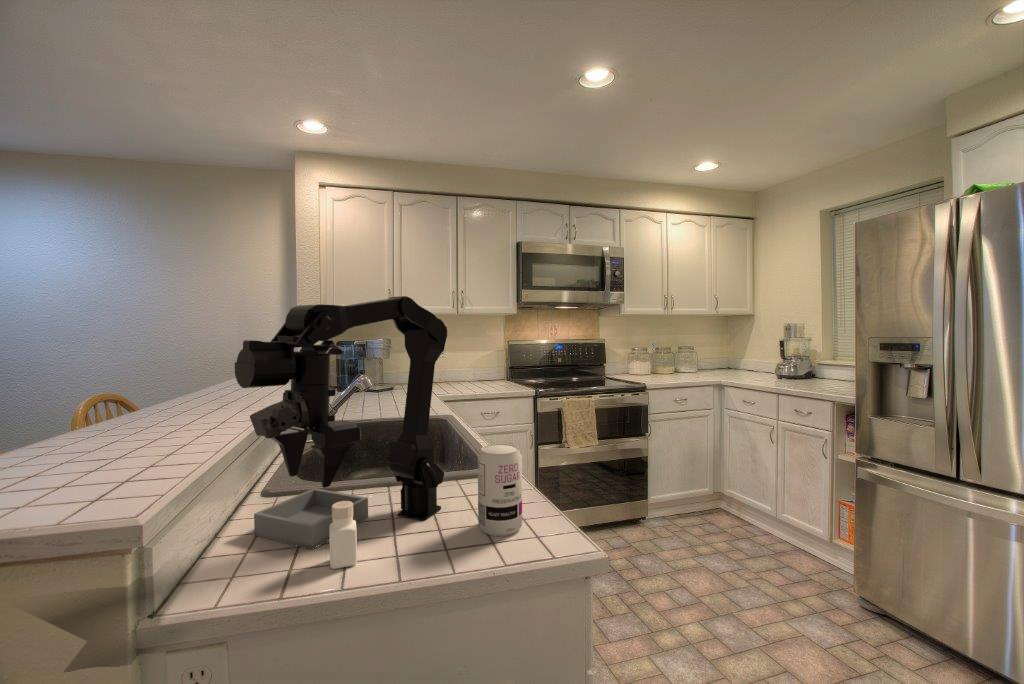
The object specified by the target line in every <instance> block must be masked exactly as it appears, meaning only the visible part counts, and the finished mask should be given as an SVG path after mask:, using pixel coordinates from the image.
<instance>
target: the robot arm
mask: <svg viewBox="0 0 1024 684" xmlns="http://www.w3.org/2000/svg"><path fill="white" fill-rule="evenodd" d="M390 320H392V321H393V324H394V325H395V328H396V329H397V330H398V331H399V332H400V333H401V334H402V335H403V336H404V349H405V350H406V353H407V355H408V358H409V371H408V379H407V380H408V381H407V388H406V398H405V404H404V405H405V406H404V413H403V414H404V415H403V424H402V432H401V433H400V435H399V436H398V438H397V439H396V440H393V439H392V440H391V441H390V442H389V452H388V453H389V454H388V457H387V460H386V461H387V462H389V470H391V472H392V474H394V477H395V480H396V482H397V483H399V482H400V483H401V489H400V509H401V510H400V511H398V512H397V516H399V517H405V518H410V519H414V520H419V521H425V520H427V519H429V518H430V517H432V516H433V515H434V514H435V513H437V512H439V511H440V510H441V509H442V506H441V505H438V502H437V501H438V500H437V499H438V498H437V497H438V496H437V495H438V494H437V491H438V490H437V489H438V487H439V486H440V484H443V480H444V476H445V471H444V470H443V469H441V467H439V465H437V464H436V463H435V462H434V447H433V445H432V442H431V439H430V437H429V434H428V432H429V424H430V415H431V405H432V404H431V403H432V394H433V387H434V385H433V384H434V375H435V367H436V362H437V361H438V359H439V358H440V356H441V355H442V354H443V352H444V349H445V346H446V342H447V337H448V326H446V325H445V323H444V321H443V320H442V319H440V318H439V317H437V316H436V315H435V314H434V313H432V312H431V311H429V310H427V309H426V308H424V307H423V306H421V305H419V304H418V303H417V302H415V300H414V299H413V298H411V297H410V296H406V295H402V296H401V295H400V296H391V297H389V298H385V299H380V300H379V299H378V300H372V301H366V302H360V303H354V304H353V303H351V304H347V305H339V304H304V305H302V304H301V305H300V304H299V305H296V306H293V307H292V308H290V309H289V311H288V313H287V314H286V316H285V322H284V324H282V326H281V328H280V329H279V330H278V331H277V332H276V334H275V335H274V336H273V338H272V339H271V340H270V341H261V340H249V339H248V340H243V342H242V349H241V350H240V351H239V352H238V354H237V358H236V362H234V375H235V379H236V382H237V384H238V385H239V386H240V388H243V389H252V388H265V387H279V386H285V385H287V384H288V383H289V382H290V389H284V392H283V393H282V400H281V401H278V402H276V403H272V404H270V405H268V406H266V407H264V408H262V409H260V410H258V411H256V412H254V413H251V414H250V415H249V419H250V421H251V424H252V427H253V429H254V432H255V434H256V436H257V437H264V438H265V439H271V440H272V441H274V442H275V443H277V444H278V446H279V448H280V451H281V455H282V458H283V460H284V465H286V469H287V473H288V475H289V477H296V476H297V475H298V473H299V470H300V466H301V463H302V459H303V455H304V452H305V447H306V443H307V440H308V435H311V440H312V442H313V445H311V446H310V448H311V449H312V450H313V451H315V452H316V453H317V454H318V458H319V467H320V468H319V471H320V481H321V488H329V487H330V486H331V485H332V482H333V481H334V478H335V476H336V474H337V472H338V470H339V468H340V466H342V462H343V460H344V459H345V457H346V456H347V455H348V452H349V451H350V449H351V447H354V446H355V445H356V443H357V442H360V441H361V440H362V428H361V426H360V425H359V424H358V423H357V422H355V421H354V422H353V421H348V420H337V421H336V415H335V414H331V413H330V397H336V389H332V388H331V387H330V386H331V356H334V355H335V356H336V355H339V356H340V355H343V353H344V352H343V350H342V349H341V348H340V347H339V346H338V345H336V344H335V342H334V340H333V338H336V337H338V336H340V335H342V334H344V333H346V332H347V331H348V330H350V329H353V328H355V327H360V326H365V325H370V324H375V323H379V322H384V321H390ZM318 342H322V343H320V344H317V343H318ZM295 348H299V350H295Z"/></svg>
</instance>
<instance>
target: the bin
mask: <svg viewBox="0 0 1024 684" xmlns="http://www.w3.org/2000/svg"><path fill="white" fill-rule="evenodd" d="M341 501H350V502H352V503H353V520H355V521H356V524H357V525H359V523H362V522H364V521H366V520H367V519H368V518H369V498H368V497H366V496H359V495H356V494H349V493H343V492H337V491H332V490H326V489H321V488H316V487H315V488H311V489H309V490H307V491H304V492H301V493H300V494H297V495H295V496H293V497H290V498H288V499H286V500H284V501H283V500H282V501H281V502H278V503H277V504H274V505H271V506H270V507H266V508H264V509H262V510H260V511H258V512H255V513H253V519H254V521H253V522H254V524H253V525H254V536H257V537H259V538H263V537H264V539H267V538H268V539H267V540H271V539H273V540H272V541H275V540H277V541H276V542H279V541H281V542H280V543H283V542H285V543H284V544H287V543H289V544H288V545H291V544H293V545H292V546H295V545H297V546H296V547H299V546H301V547H300V548H303V547H305V548H304V549H307V548H310V549H309V550H311V549H313V548H315V547H316V546H318V545H320V544H322V543H323V542H325V541H327V540H329V539H330V536H329V529H330V524H332V523H333V519H332V505H333V504H335V503H337V502H341ZM329 541H330V540H329ZM327 542H328V541H327ZM325 543H326V542H325ZM323 544H324V543H323ZM323 544H322V545H323ZM320 546H321V545H320ZM318 547H319V546H318ZM315 549H316V548H315ZM313 550H314V549H313Z"/></svg>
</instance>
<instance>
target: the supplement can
mask: <svg viewBox="0 0 1024 684" xmlns="http://www.w3.org/2000/svg"><path fill="white" fill-rule="evenodd" d="M477 516H478V517H477V521H478V522H477V523H478V524H477V525H478V528H479V529H480V530H481V531H482V532H484V533H485V534H486V535H489V536H494V537H506V536H512V535H513V534H515V533H517V532H518V531H519V529H520V528H522V526H523V455H522V453H521V452H520V450H519V447H518V446H517V445H514V444H508V443H493V444H488V445H485V446H482V447H481V448H480V452H479V454H478V456H477Z"/></svg>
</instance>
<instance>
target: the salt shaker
mask: <svg viewBox="0 0 1024 684" xmlns="http://www.w3.org/2000/svg"><path fill="white" fill-rule="evenodd" d="M332 519H333V523H332V524H330V529H329V536H330V540H329V566H330V568H331V569H332V570H335V569H341V568H347V567H353V566H355V565H356V564H357V562H358V543H357V540H358V539H357V538H358V537H357V536H358V535H357V533H358V532H357V525H356V521H355V520H353V503H352V502H350V501H341V502H337V503H335V504H333V505H332Z"/></svg>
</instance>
